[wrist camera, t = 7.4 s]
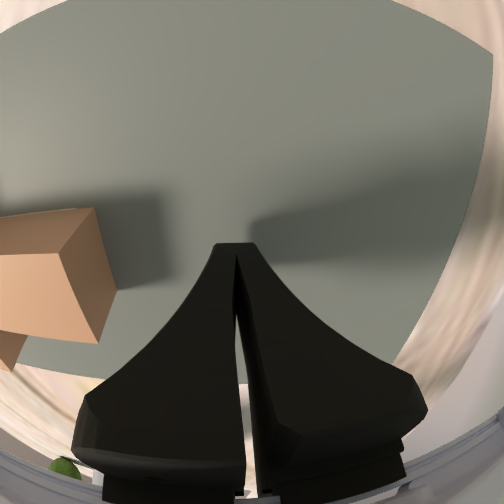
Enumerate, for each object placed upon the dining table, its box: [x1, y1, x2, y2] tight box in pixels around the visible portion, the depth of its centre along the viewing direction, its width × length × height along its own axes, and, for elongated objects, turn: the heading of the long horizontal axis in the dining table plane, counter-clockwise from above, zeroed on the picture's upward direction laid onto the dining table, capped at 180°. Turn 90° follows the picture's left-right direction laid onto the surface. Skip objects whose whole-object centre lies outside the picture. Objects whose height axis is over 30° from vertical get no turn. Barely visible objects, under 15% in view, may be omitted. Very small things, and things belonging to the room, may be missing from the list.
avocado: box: [48, 458, 82, 481], centre depth 33 cm, size 8×8×12 cm
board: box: [0, 0, 493, 384], centre depth 10 cm, size 20×34×1 cm, turn 88°
